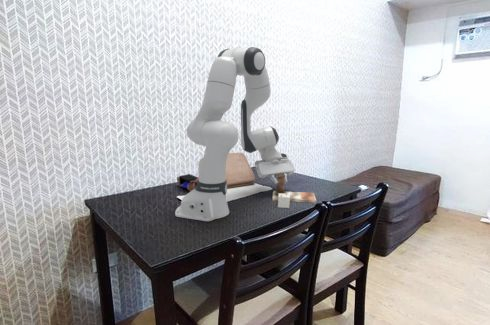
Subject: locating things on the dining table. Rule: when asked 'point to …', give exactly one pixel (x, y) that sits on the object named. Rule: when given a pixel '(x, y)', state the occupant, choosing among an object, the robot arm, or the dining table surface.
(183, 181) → the figurine character
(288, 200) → the die
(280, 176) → the pawn
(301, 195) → the board
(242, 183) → the case
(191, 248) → the dining table surface
